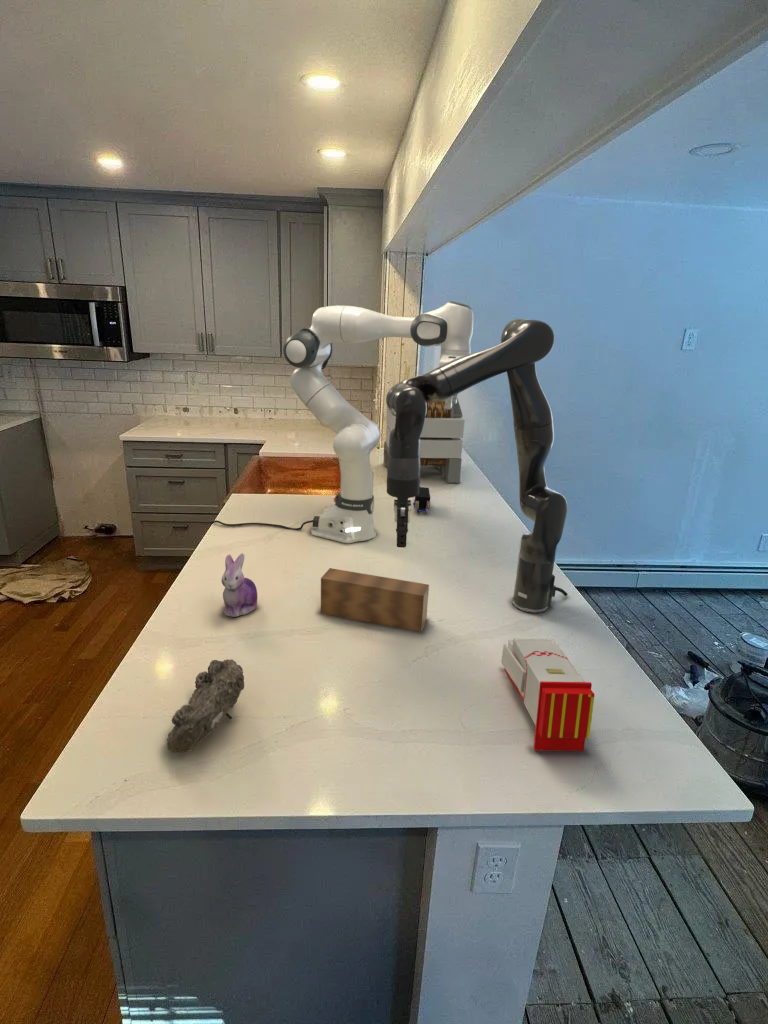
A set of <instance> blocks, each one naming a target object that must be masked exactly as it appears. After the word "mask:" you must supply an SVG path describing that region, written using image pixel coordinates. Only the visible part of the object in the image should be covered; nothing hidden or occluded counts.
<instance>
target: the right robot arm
mask: <svg viewBox="0 0 768 1024" xmlns="http://www.w3.org/2000/svg"><path fill="white" fill-rule="evenodd" d="M555 339H556V338H555V333H554V330H553V329H552V327H551V325H549V324H547V323H546V322H545V321H542V320H539V319H528V318H514V319H512V320H510V321H509V322H508V323H507V324H506V325H505V326H504V329H502V332H501V335H500V343H499V344H497V345H495V346H492V347H489V348H487V349H484V350H481V351H477V352H474V353H471V354H470V355H466V356H463V357H460V358H457V359H455V360H453V361H450V362H448V363H446V364H444V365H442V366H440V367H439V366H437V367H436V368H434V369H432V370H431V371H429V372H426V373H423V374H419V375H416V376H412V377H410V378H407V379H405V380H404V379H403V380H402V381H400V382H397V383H396V384H395V385H393V386H392V387H391V388H390V389H389V390H388V392H387V394H386V397H385V404H386V407H387V406H388V408H389V410H390V411H391V412H393V413H394V414H396V421H395V429H393V430H392V431H391V432H390V436H389V457H388V463H387V466H386V493H387V495H388V496H390V497H392V498H396V499H394V500H393V511H394V523H395V524H396V528H395V532H396V547H397V548H406V547H407V535H408V532H409V527H408V526H409V524H410V522H411V511H412V500H411V499H410V498H414V497H415V496H417V495H418V494H419V487H421V486H420V485H421V466H420V436H421V433H422V430H423V426H424V421H425V417H426V411H427V403H429V402H432V401H443V400H446V399H448V398H450V397H452V396H454V395H456V394H458V395H459V394H460V393H462V392H464V391H466V390H468V389H470V388H471V387H474V386H476V385H479V384H480V383H482V382H484V381H487V380H489V379H491V378H494V377H497V376H498V375H501V374H504V373H506V375H507V380H508V385H509V386H508V387H509V394H510V395H509V397H510V402H511V403H510V404H511V411H512V423H513V430H514V431H513V433H514V439H515V445H516V454H517V465H518V475H519V476H518V478H519V479H518V480H519V483H518V489H519V496H518V498H519V507H520V510H521V512H522V514H523V515H524V516H525V517H526V518H528V519H529V520H531V521H533V522H534V524H533V528H532V530H531V531H530V530H529V531H526V532H524V533H523V534H522V535H521V539H520V545H519V552H518V561H517V568H516V573H515V581H514V590H513V595H512V596H513V597H512V605H513V607H515V608H517V609H518V610H520V611H523V612H526V613H531V614H538V613H543V612H545V611H547V609H549V608H550V609H551V606H552V605H551V604H552V599H553V598H555V596H556V592H559V593H561V594H562V595H563V596H564V597H567V596H568V593H567V591H565V590H564V589H563V588H561V587H558V586H556V585H555V580H556V576H555V575H554V574H553V573H554V572H553V571H554V567H555V561H556V560H555V559H556V553H557V547H558V545H559V543H560V541H561V539H562V537H563V532H564V528H565V522H566V519H567V513H568V502H567V499H566V497H565V496H564V495H563V494H561V493H560V492H558V491H555V490H554V489H552V488H549V487H548V484H547V479H546V471H545V470H546V468H545V467H546V461H547V459H548V456H549V455H550V452H551V451H552V447H553V444H554V441H555V430H554V429H555V428H554V419H553V413H552V408H551V406H550V403H549V401H548V398H547V396H546V395H545V393H544V390H543V388H542V386H541V383H540V381H539V378H538V374H537V365H536V363H537V362H541V361H542V360H545V358H546V357H548V356H549V355H550V353H551V352H552V350H553V348H554V345H555Z"/></svg>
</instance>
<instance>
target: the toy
mask: <svg viewBox="0 0 768 1024" xmlns="http://www.w3.org/2000/svg"><path fill="white" fill-rule="evenodd" d="M500 661H501V662H500V663H501V664H502V666H503V668H504V671H505V673H506V674H507V676H508V678H509V679H510V681H511V684H512V685H513V686H514V688H515V691H517V693H518V695H519V696H520V699H521V700H522V702H523V704H524V706H525V708H526V711H527V712H528V714H529V716H530V718H531V720H532V723H533V724H534V726H535V731H534V741H533V750H534V751H554V752H555V751H556V752H557V751H558V752H564V751H565V752H584V751H585V743H586V739H590V737H591V736H590V735H591V727H592V718H593V710H594V702H595V692H593V690H592V685H593V684H592V682H590V681H585V679H584V678H583V676H582V675H581V674H580V673H579V672H578V670H577V669H576V668H575V666H574V665H573V663H572V662H571V661H570V659H569V658H568V657H567V655H566V654H565V653H564V651H563V650H562V649H561V648H560V646H559V644H558V643H557V642H556V640H554V638H517V637H515V638H512V639H508V643H507V644H503V647H502V653H501V660H500Z"/></svg>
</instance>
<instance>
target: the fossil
mask: <svg viewBox="0 0 768 1024" xmlns="http://www.w3.org/2000/svg"><path fill="white" fill-rule="evenodd" d="M243 670H244V669H243V667H242V665H240V664H237V662H236V661H235V660H234V659H232V658H231V659H227V658H226V659H224V660H223V661H222V660H217V659H212V660H211V661H210V663H209V665H208V666H207V671H201V672H199V673H198V674H197V675H196V676H195V680H194V684H195V685H194V687H195V689H194V690H193V693H192V694H191V697H190V698H189V700H188V704H184V705H182V706H181V707H180V709H177V710H176V711H175V713H174V715H173V716H172V718H171V723H172V724H173V727H172V730H171V731H170V732H168V734H167V738H166V741H167V742H166V745H167V749H168V750H169V751H173V752H174V753H176V754H178V753H182V752H188V751H189V752H192V751H193V750H195V748H196V747H197V746H199V744H200V743H201V742H203V741H204V740H205V739H206V738H207V737H208V736H209V735H210V734H211V733H212V732H214V730H215V729H217V727H218V726H219V724H220V722H221V721H222V720H223V719H224V718H225V716H226V717H227V719H229V720H233V717H232V715H230V714H229V710H230V709H231V708H234V706H235V704H236V703H237V702H238V699H239V697H240V695H241V693H242V691H243V690H245V689H244V688H245V675H244V671H243Z"/></svg>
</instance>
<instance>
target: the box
mask: <svg viewBox="0 0 768 1024" xmlns="http://www.w3.org/2000/svg"><path fill="white" fill-rule="evenodd" d="M429 591H430V584H427V583H423V582H422V583H421V582H416V581H411V580H410V581H409V580H404V579H398V578H391V577H386V576H380V575H373V574H367V573H361V572H355V571H351V570H350V571H349V570H343V569H337V568H331V567H329V569H327V570H326V571H325V572H324V574H323V575H322V576H321V577H320V614H323V615H329V616H334V617H340V618H345V619H350V620H355V621H361V622H366V623H370V624H371V623H372V624H376V625H382V626H388V627H392V628H399V629H403V630H408V631H412V632H413V631H414V632H419V633H421V632H422V631H423V629H424V626H425V624H426V621H427V616H428V605H429V593H430V592H429Z"/></svg>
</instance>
